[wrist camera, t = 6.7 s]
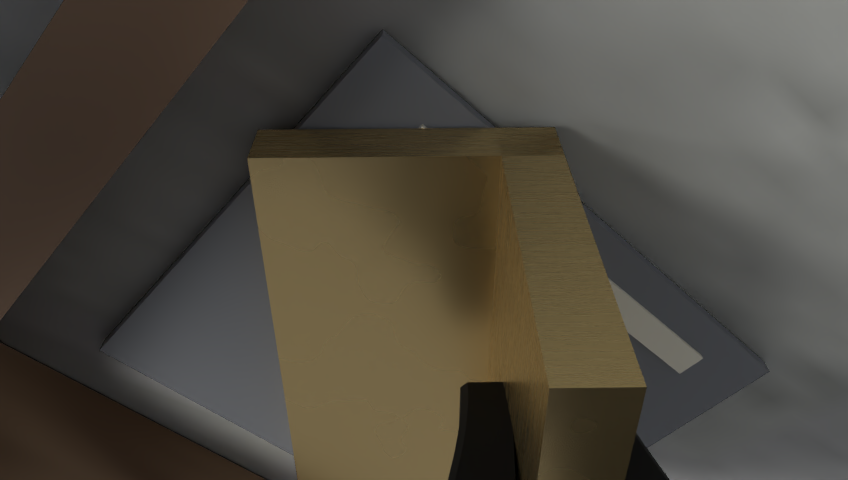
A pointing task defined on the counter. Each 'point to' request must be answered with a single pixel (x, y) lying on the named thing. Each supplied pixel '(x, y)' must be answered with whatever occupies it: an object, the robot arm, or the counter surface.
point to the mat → (251, 313)
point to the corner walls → (66, 202)
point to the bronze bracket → (439, 301)
